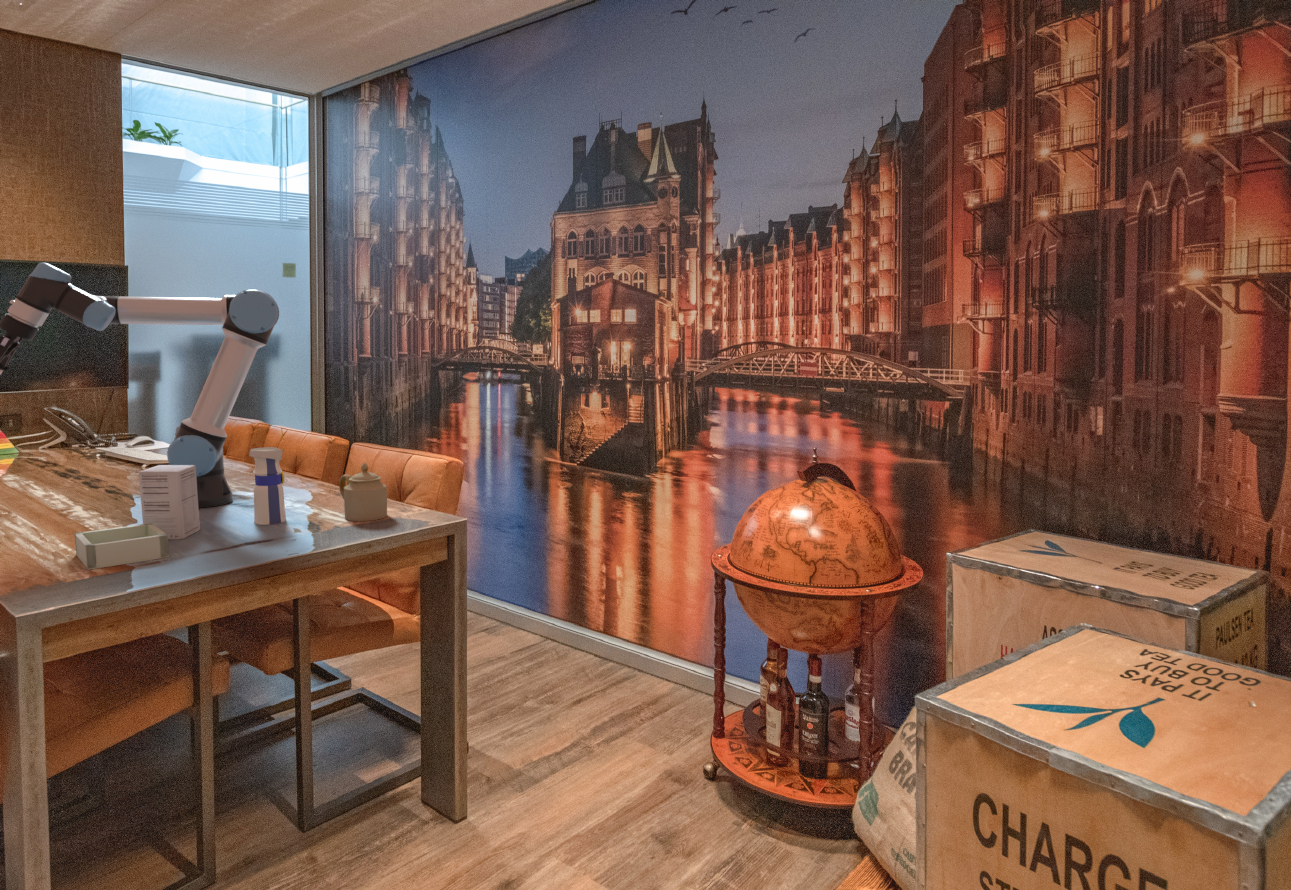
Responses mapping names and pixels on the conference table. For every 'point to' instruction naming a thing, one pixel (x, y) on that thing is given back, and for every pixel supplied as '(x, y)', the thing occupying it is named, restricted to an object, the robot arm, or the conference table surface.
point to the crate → (121, 545)
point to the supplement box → (170, 499)
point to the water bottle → (268, 486)
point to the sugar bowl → (363, 496)
